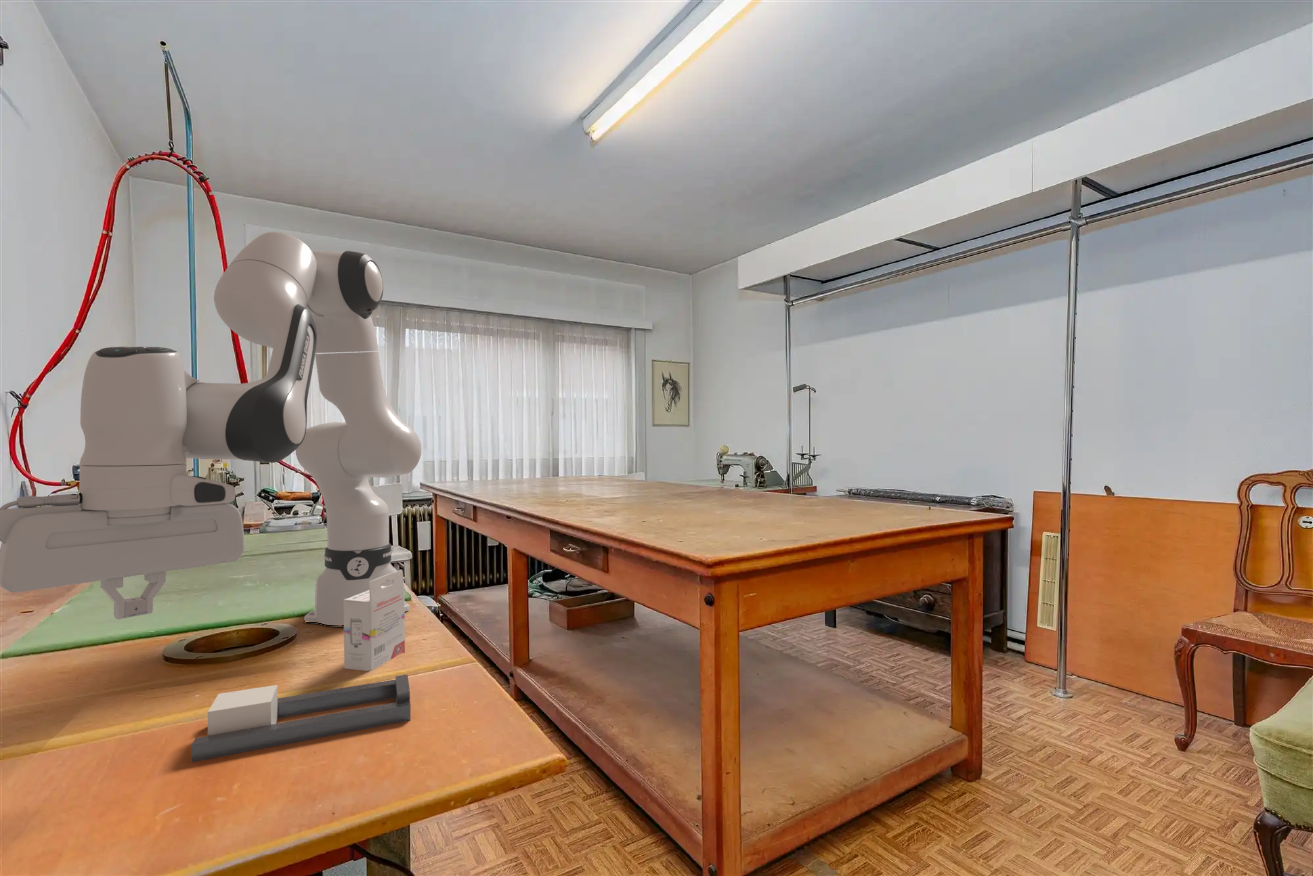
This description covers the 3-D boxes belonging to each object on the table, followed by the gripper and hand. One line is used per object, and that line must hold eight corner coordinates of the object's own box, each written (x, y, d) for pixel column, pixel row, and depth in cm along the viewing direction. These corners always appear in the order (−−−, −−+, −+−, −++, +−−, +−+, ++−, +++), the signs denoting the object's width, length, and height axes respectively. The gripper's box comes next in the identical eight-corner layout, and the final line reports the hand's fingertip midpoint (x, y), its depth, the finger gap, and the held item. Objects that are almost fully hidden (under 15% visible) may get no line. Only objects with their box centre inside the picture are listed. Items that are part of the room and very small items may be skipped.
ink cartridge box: (379, 654, 97) (379, 566, 97) (405, 657, 96) (406, 568, 96) (341, 675, 89) (342, 579, 89) (370, 678, 88) (370, 581, 88)
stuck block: (218, 730, 70) (218, 693, 70) (277, 719, 73) (277, 684, 73) (207, 750, 66) (207, 711, 66) (270, 738, 68) (271, 701, 68)
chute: (212, 733, 72) (212, 701, 71) (406, 698, 81) (407, 670, 81) (191, 771, 63) (191, 735, 63) (410, 728, 73) (410, 696, 73)
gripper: (0, 500, 54) (-2, 648, 54) (250, 486, 71) (249, 600, 71) (-12, 495, 58) (-14, 635, 58) (229, 484, 75) (228, 592, 75)
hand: (133, 615), depth 64 cm, fingers closed
